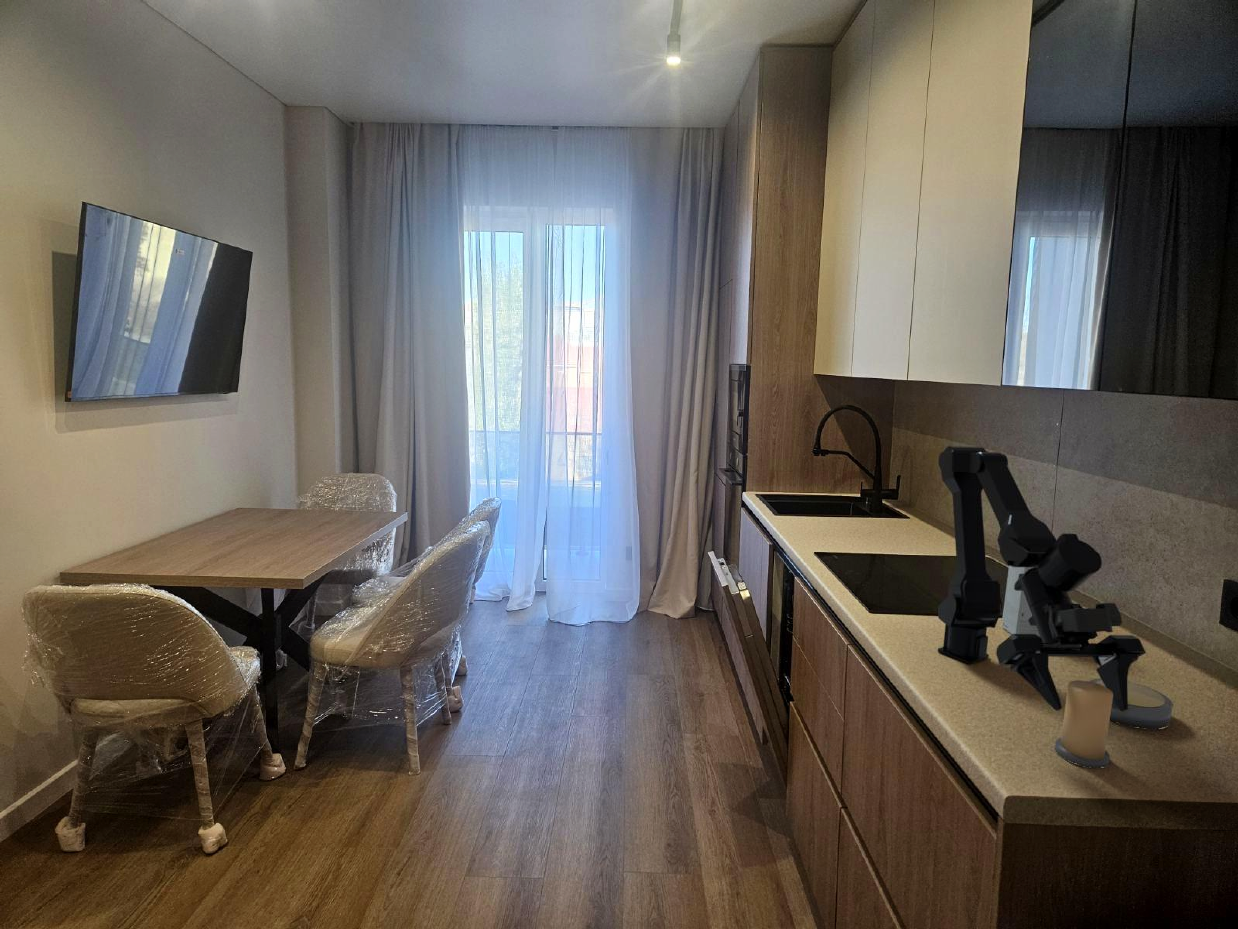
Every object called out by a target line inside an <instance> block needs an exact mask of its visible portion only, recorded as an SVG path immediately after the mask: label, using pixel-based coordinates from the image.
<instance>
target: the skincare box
mask: <svg viewBox="0 0 1238 929" xmlns="http://www.w3.org/2000/svg"><path fill="white" fill-rule="evenodd" d="M1029 569H1031V567H1012V566H1008V573H1007V580H1006V587H1005V588H1006V589H1005V594H1004V595H1005V597H1004V604H1003V611H1002V618H1001V619H1002V620H1001V627H1002V629H1004V630H1005V631H1006V632H1008V633H1009V635H1010V636H1011V635H1012V634H1036V635H1038V636H1039V637H1040V635H1039V632H1038V630H1037V627H1036V626H1030V623H1029V621H1028V619H1029V618H1031V617H1032V613H1031V611H1030V608H1029V605H1028V603H1027V600H1026V597H1025V594H1024V592H1023V591H1016V590H1015V589H1014V586H1015V583H1016V581H1017V580H1018V577H1019V574H1025V573H1026V572H1027V571H1028V570H1029Z"/></svg>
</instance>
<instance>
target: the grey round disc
mask: <svg viewBox="0 0 1238 929" xmlns="http://www.w3.org/2000/svg"><path fill="white" fill-rule="evenodd" d="M1088 682H1093V683H1096V684H1099V685H1102V686H1104V687H1106V686H1105V685H1104V683H1103V681H1102V679H1101V678H1094V679H1091V680H1089V681H1088ZM1127 690H1128V709H1127V710H1126V711H1120V709H1119V708H1118V707H1117V705H1116V704H1115V702H1114V701H1113V700H1112V707H1111V714H1110V721H1109V722H1112V721H1113V723H1115V722H1118V723H1120V724H1119V725H1121V724H1122V726H1124V725H1125V727H1128V726H1132V727H1131V728H1133V727H1139V728H1146V729H1159V728H1162V727H1166V726H1168V725H1169V724H1170V725H1171V719H1172V713H1173V712H1172V711H1173V705H1174V703H1173V702H1172V700H1171V699H1170V698H1169V697H1168V696H1167V695H1165V694H1163V693H1162V692H1159V691H1158V690H1156V689H1155V688H1151V687H1148V686H1146V685H1143V684H1141V683H1136V682H1132V681H1128V680H1127ZM1118 723H1117V724H1118ZM1170 725H1169V726H1170ZM1169 726H1168V727H1169Z"/></svg>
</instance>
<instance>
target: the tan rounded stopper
mask: <svg viewBox="0 0 1238 929" xmlns="http://www.w3.org/2000/svg"><path fill="white" fill-rule="evenodd" d="M1112 700H1113V692H1112V691H1111V690H1109V689H1108V688H1106V687H1104V686H1102V685H1099V684H1096V683H1093V682H1089V681H1087V680H1080V679H1079V680H1078V679H1077V680H1071V681H1068V685H1067V693H1066V700H1065V706H1064V715H1063V721H1062V722H1063V723H1062V730H1061V737H1059V738H1056V740H1055V746H1054V751H1055V753H1056V752H1057V753H1058V754H1059V755H1060V756H1062V757H1063V758H1065V759H1066V760H1069V761H1071V762H1073V763H1077V764H1079V765H1081V766H1085V767H1091V768H1101V767H1106V766H1107V765H1108V764H1110V757H1111V756H1110V753H1109V752H1108V751H1107V750H1106V749H1107V742H1108V740H1107V739H1108V735H1109V734H1108V733H1109V729H1110V728H1109V726H1110V722H1111V721H1110V714H1111V707H1112ZM1057 753H1056V754H1057ZM1058 754H1057V755H1058ZM1059 755H1058V756H1059ZM1060 756H1059V757H1060ZM1063 758H1062V759H1063ZM1066 760H1065V761H1066ZM1081 766H1080V767H1081ZM1108 766H1109V765H1108ZM1108 766H1107V767H1108ZM1085 767H1084V768H1085ZM1107 767H1106V768H1107ZM1091 768H1090V769H1091Z"/></svg>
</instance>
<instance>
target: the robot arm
mask: <svg viewBox="0 0 1238 929" xmlns="http://www.w3.org/2000/svg"><path fill="white" fill-rule="evenodd" d="M938 467H939V469H940V473H941V480H942V482H943V483H944V484H945V486H946V487H947V488H948V490H949V492H950V493H951V494H952V506H953V507H952V509H953V525H954V538H955V539H954V541H955V542H954V544H955V555H956V556H955V557H956V572H955V574H954V575H953V577H952V579H951V581H950V583H949V584H948V596H946V598H945V599H944V600H943V601H942V602H941V603H940V604H939V605H938V607H937V614H938V617H937V618H938V619H939V620H940V621H941V622H942V623H944V624H945V625H944V634H943V635H944V636H943V644H942V646H941V647H939V648H937V652H938V653H941V654H943V655H945V656H948V657H950V658H952V659H955V660H957V661H961V662H963V663H965V664H968V665H969V664H972V663H976V662H979V661H981V660H984V659H988V658H989V656H990V655H989V654H988V653H987V650H988V643H989V636H988V635H987V630H988V629H987V628H991V629H995V628H996V627H997V623H998V620H999V618H1000V615H1001V612H1002V609H1003V605H1002V604H1003V602H1002V598H1001V583H1000V582H999V581H998V580H995V579H993V578H992V577H991V575H990V574H989V573H988V568H987V558H986V556H987V555H986V554H987V553H986V544H985V543H986V542H985V528H984V513H983V500H982V492H983V491H984V494H985V496H986V498H987V500H988V503H989V505H990V507H991V509H992V511H993V514H994V516H995V518H996V520H997V522H998V525H999V528H1000V530H999V533H998V536H997V544H998V547H999V554H1000V556H1001V558H1002V560H1003V561H1004V563H1005V564H1006V565H1007V567H1009V566H1012V567H1031V569H1029V570H1028V571H1027V572H1026V573H1025V574H1019V577H1018V580H1017V581H1016V583H1015V586H1014V589H1015V590H1016V591H1023V592H1024V594H1025V597H1026V600H1027V603H1028V605H1029V608H1030V611H1031V613H1032V617H1031V618H1029V619H1028V621H1029V623H1030V626H1036V627H1037V630H1038V632H1039V635H1040V637H1039V636H1038V635H1036V634H1012V635H1011V634H1010V635H1009V636H1008V637H1007V638H1006V639H1004V641H1002V642H1001V643H1000V644H998V646H997V647H996V652H995V654H996V658H997V660H998V664H999V665H1000V666H1002V667H1009V670H1010V671H1011V672H1016V673H1017V674H1018V675H1019V676H1020V677H1021V678H1023V679H1024V680H1025V681H1026V682H1027V683H1028V684H1029V685H1031V686H1032V688H1033V689H1035V690H1036V692H1038V694H1039V695H1040V696H1041V697H1042V698H1043V699H1044V700H1045V702H1047V704H1048V705H1050V707H1052V709H1053V710H1054V711H1056V712H1059V711H1061V710H1062V709H1063V707H1062V703H1061V698H1060V695H1059V693H1058V690H1057V687H1056V685H1055V683H1054V679H1053V677H1052V673H1051V672H1050V669H1049V658H1050V657H1052V658H1053V657H1057V658H1059V657H1060V658H1067V657H1068V658H1092V660H1093V661H1094V663H1095V664H1097V665H1098V666H1099V667H1097V668H1096V669H1095V670H1096V672H1097V674H1098V676H1099V677H1100V678H1101V679H1102V681H1103V683H1104V685H1105V686H1106V688H1108V689H1109V690H1111V691H1112V692H1113V701H1114V702H1115V704H1116V705H1117V707H1118V708H1119V709H1120V711H1126V710H1127V709H1128V690H1127V681H1128V676H1129V670H1130V667H1131V665H1132V664H1133V663H1135V662H1137V661H1138V660H1139V658H1140V657H1142V656H1143V655H1145V654H1147V651H1146V649H1145V647H1144V646H1143V643H1142V641H1141V639H1140V638H1138V637H1137V636H1135V635H1132V634H1129V635H1128V634H1124V635H1123V634H1109V635H1108V636H1106V637H1105V638H1103V639H1102V640H1101V641H1099V642H1098V643H1097V642H1096V643H1095V642H1092V643H1091V642H1090V641H1089V640H1094V639H1096V638H1097V637H1098V632H1099V633H1100V632H1101V633H1102V632H1106V633H1113V627H1120V626H1122V623H1123V619H1122V614H1121V611H1120V610H1119V608H1118V606H1117V605H1116V603H1115V602H1102V603H1097V604H1096V605H1095V608H1090V607H1089V608H1087V607H1086V608H1084V607H1083V606H1082V605H1081V604H1080V603H1074V602H1073V600H1072V598H1071V596H1070V592H1073V591H1075V590H1077V589H1078V588H1080V586H1082V585H1083V584H1084V583H1085V582H1086V581H1088V580H1089V579H1090V578H1092V577H1093V576H1095V574H1096V573H1097V572H1098V571H1100V570H1101V568H1102V565H1103V564H1102V557H1101V554H1100V553H1099V552H1098V551H1096V550H1095V548H1094V547H1092V546H1091V545H1090V544H1088V543H1086V541H1082V540H1080V539H1079V538H1078V534H1077V533H1066V532H1065V533H1061V534H1060V535H1059V537H1058V538H1056V537H1055V535H1054V534H1053V532H1052V531H1051V530H1050V528H1049V526H1047V524H1046V523H1045V522H1043V521H1041V520H1040V519H1038V518H1037V517H1035V516H1034V515H1033V514H1032V512H1031V511H1030V509H1029V507H1028V505H1027V503H1026V502H1027V501H1026V500H1025V499H1024V497H1023V495H1022V492H1021V490H1020V489H1019V486H1018V485H1017V483H1016V480H1015V478H1014V477H1013V474H1012V473H1011V471H1010V468H1009V459H1008V456H1007V455H1006V454H1004V453H1001V452H999V451H998V452H997V451H996V452H995V451H987V450H986V449H985V447H983V446H970V445H969V446H964V445H963V446H960V445H956V446H955V445H949V446H948V445H947V446H946V447H945V449H944V451H941V452H940V454H939V456H938Z"/></svg>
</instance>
